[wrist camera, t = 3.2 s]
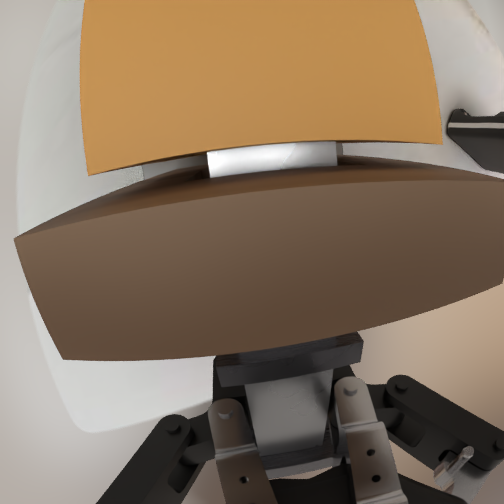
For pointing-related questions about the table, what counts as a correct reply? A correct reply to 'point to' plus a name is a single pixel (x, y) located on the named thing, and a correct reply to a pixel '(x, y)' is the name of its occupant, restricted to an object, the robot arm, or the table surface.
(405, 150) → the table surface
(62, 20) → the table surface
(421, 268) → the stand
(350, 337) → the shaft
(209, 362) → the table surface
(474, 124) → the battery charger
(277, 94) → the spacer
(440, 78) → the table surface
